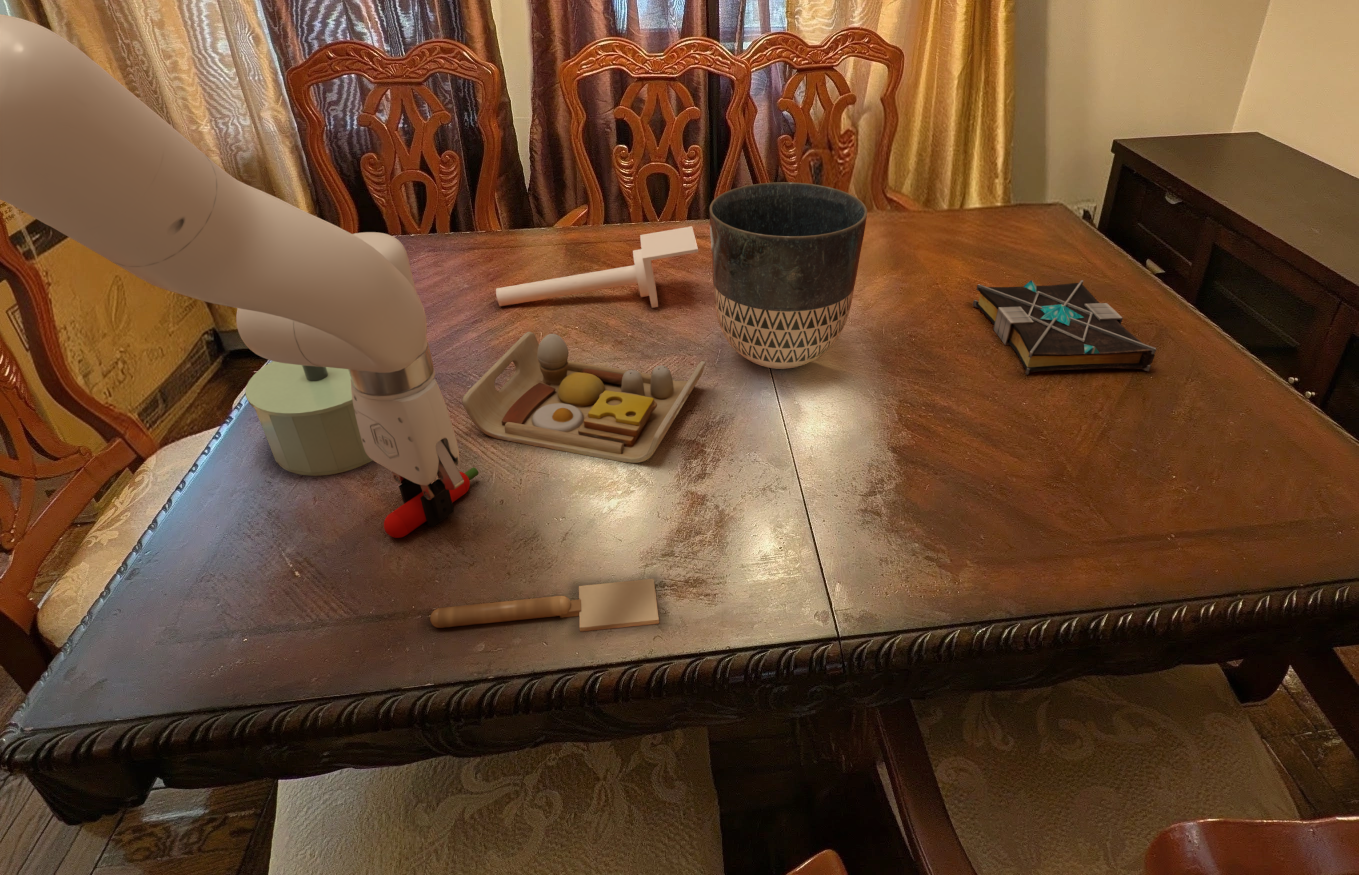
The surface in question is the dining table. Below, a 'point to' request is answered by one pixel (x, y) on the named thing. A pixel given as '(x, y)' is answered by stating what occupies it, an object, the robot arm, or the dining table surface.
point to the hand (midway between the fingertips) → (430, 512)
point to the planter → (784, 268)
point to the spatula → (566, 608)
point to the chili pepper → (420, 509)
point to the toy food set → (576, 402)
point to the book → (1061, 328)
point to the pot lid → (298, 389)
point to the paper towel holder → (610, 271)
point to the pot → (316, 442)
